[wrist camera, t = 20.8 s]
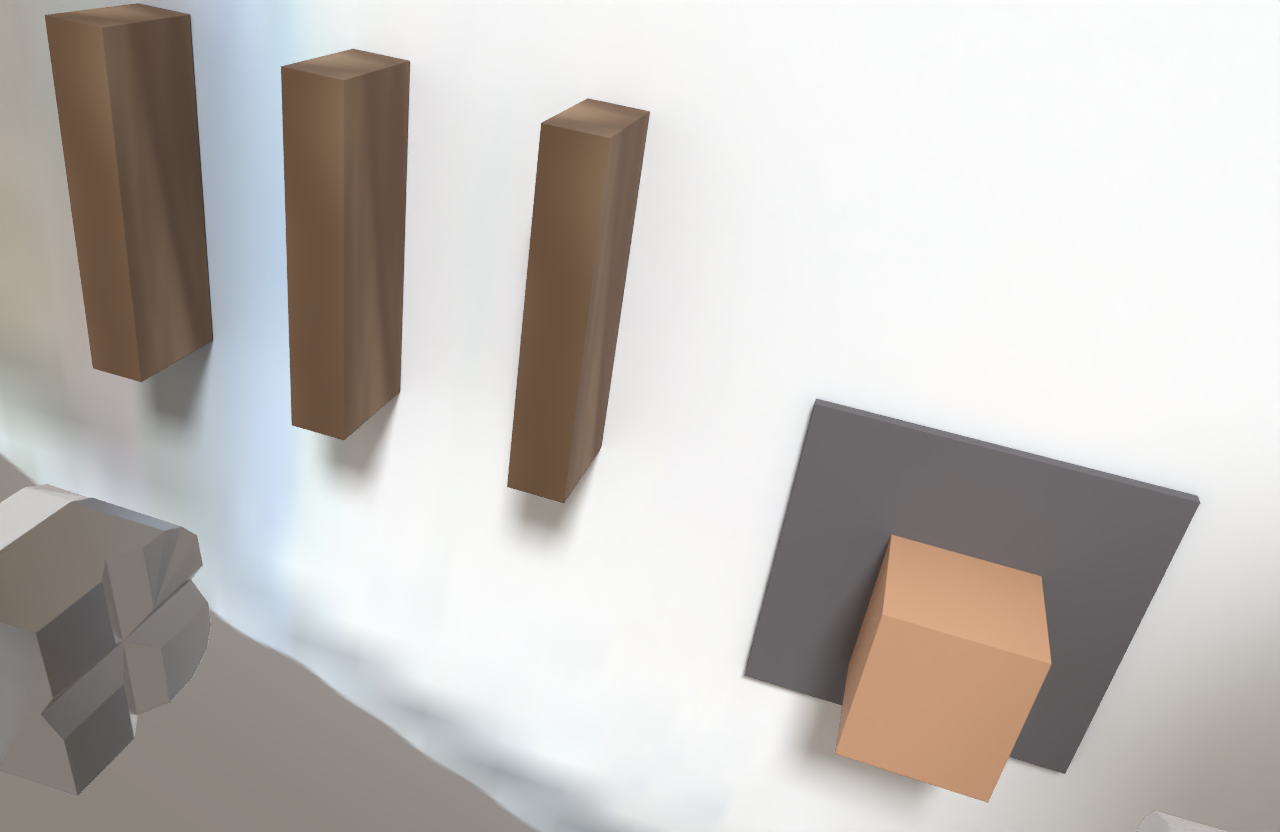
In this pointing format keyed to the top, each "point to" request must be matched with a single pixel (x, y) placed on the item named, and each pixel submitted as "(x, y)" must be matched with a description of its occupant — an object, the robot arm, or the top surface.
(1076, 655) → the charcoal mat
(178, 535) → the robot arm
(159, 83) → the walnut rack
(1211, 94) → the top surface
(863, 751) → the terracotta block
